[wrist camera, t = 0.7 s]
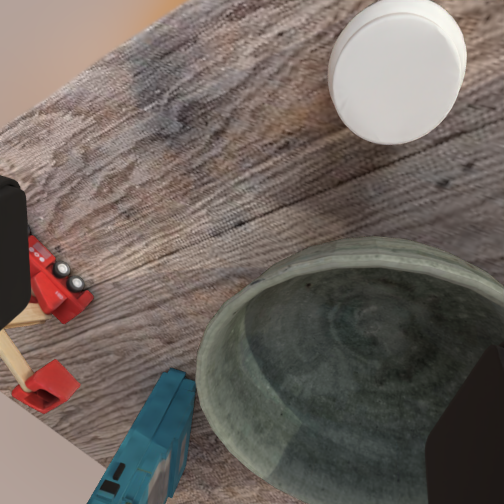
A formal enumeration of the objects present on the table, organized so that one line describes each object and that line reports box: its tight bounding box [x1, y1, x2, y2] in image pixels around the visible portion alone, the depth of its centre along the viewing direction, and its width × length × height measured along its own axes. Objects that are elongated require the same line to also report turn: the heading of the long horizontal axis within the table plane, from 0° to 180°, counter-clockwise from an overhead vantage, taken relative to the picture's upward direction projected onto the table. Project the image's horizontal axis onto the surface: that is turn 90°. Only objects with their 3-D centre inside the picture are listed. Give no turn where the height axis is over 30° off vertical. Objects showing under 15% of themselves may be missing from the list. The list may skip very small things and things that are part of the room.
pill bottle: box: [328, 0, 467, 145], centre depth 22 cm, size 6×6×10 cm
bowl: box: [195, 236, 504, 504], centre depth 30 cm, size 21×21×10 cm
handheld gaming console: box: [87, 368, 196, 504], centre depth 38 cm, size 10×4×15 cm, turn 171°
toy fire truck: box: [0, 226, 94, 414], centre depth 36 cm, size 3×14×10 cm, turn 41°
